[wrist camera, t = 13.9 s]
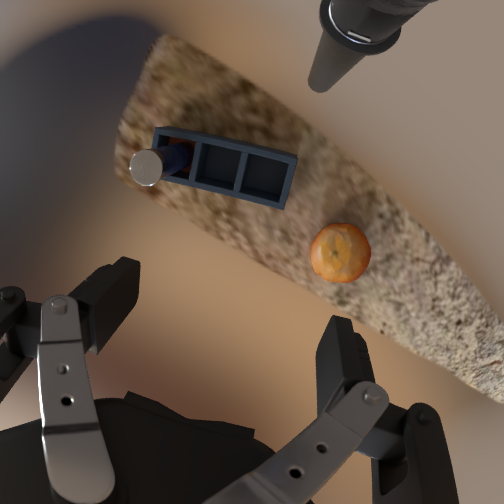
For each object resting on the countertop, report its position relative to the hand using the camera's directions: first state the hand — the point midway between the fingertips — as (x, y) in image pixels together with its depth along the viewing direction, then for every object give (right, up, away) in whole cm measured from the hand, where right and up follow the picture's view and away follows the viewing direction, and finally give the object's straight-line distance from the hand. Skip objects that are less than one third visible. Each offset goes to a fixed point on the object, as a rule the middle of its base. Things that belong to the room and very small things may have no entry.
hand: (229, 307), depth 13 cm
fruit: (+13, +3, +32) cm, 35 cm away
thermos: (-8, +15, +29) cm, 34 cm away
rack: (-3, +14, +29) cm, 33 cm away
